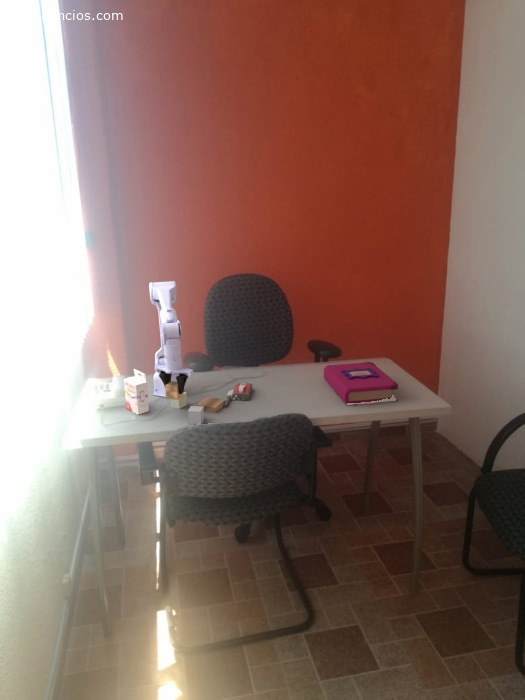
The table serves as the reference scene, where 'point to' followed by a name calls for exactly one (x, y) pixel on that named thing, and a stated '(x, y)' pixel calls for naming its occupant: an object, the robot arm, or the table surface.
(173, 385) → the oak block
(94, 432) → the table surface
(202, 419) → the slate block
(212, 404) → the tan flat block
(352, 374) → the book
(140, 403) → the ink cartridge box
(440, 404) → the table surface
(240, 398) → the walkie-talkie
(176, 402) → the sage block
